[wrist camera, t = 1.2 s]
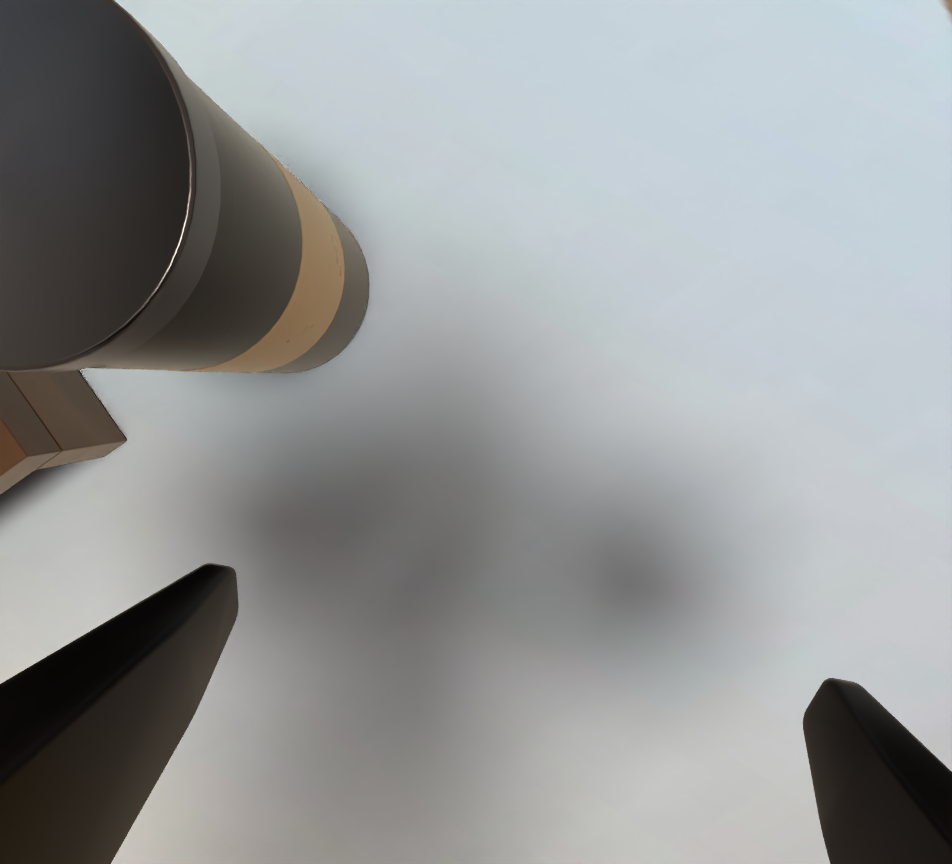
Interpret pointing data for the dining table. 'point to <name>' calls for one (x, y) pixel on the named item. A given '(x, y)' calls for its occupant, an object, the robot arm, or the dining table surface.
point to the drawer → (50, 423)
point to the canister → (151, 214)
